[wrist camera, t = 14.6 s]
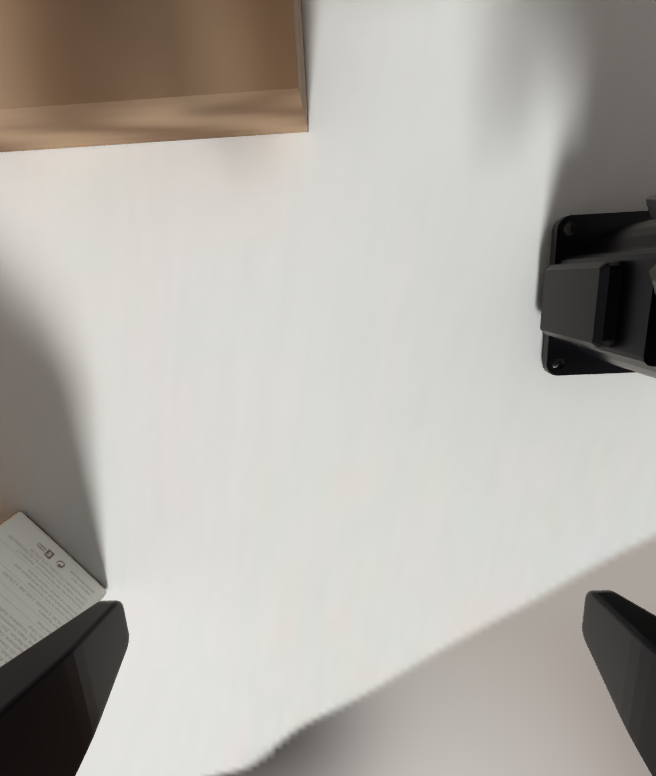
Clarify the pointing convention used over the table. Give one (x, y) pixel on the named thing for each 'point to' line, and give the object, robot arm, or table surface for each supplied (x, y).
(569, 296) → the robot arm
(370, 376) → the table surface
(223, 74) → the walnut socket block
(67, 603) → the small box
